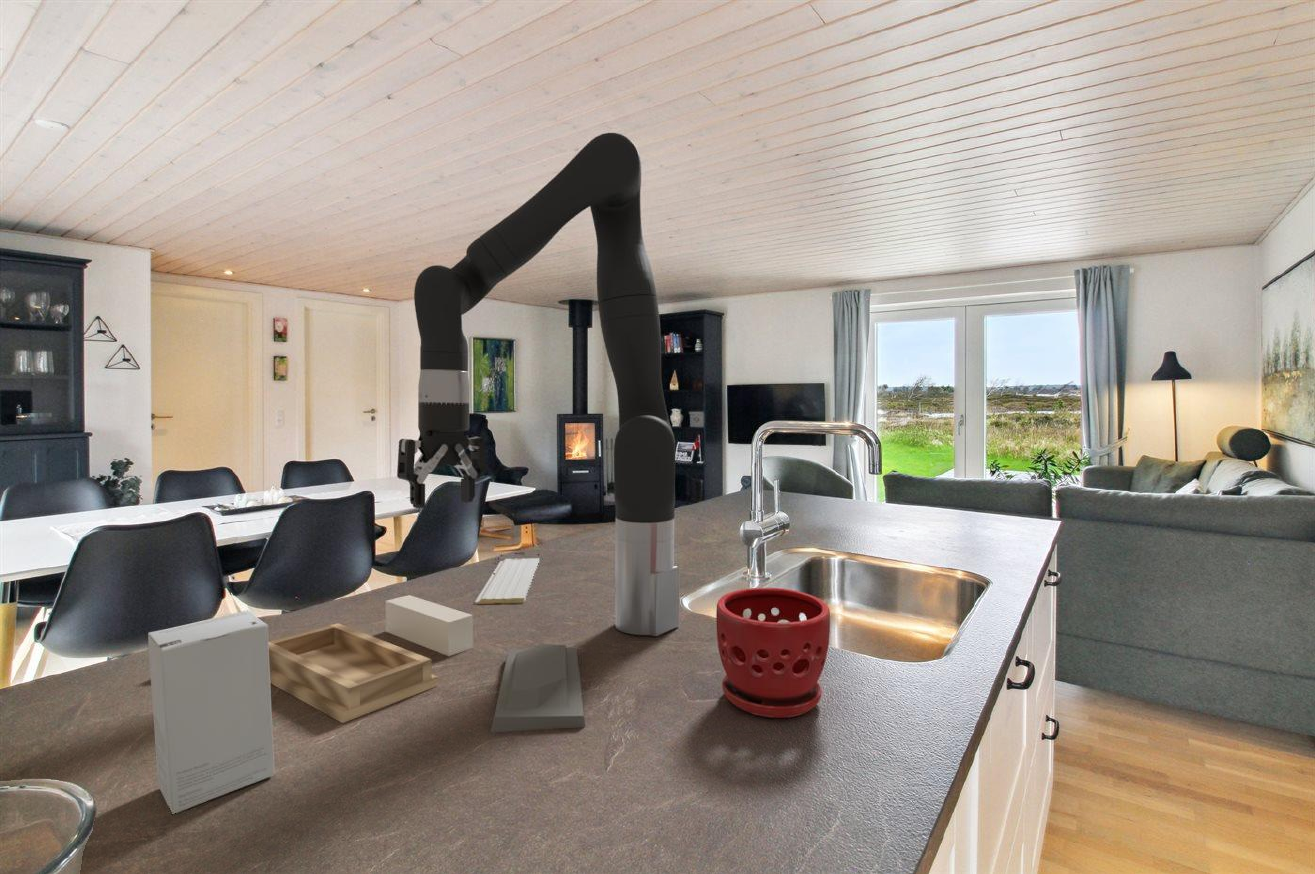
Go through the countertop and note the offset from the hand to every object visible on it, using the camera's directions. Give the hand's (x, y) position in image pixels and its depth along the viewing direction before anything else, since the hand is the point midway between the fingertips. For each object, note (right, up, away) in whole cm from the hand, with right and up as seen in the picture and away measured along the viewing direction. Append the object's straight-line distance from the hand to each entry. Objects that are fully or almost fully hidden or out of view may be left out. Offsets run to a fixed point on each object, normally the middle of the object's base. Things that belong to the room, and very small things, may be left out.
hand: (443, 504), depth 102 cm
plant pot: (+47, -21, -25) cm, 57 cm away
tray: (-6, -20, -19) cm, 28 cm away
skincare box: (-7, -21, -42) cm, 48 cm away
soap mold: (+19, -21, -22) cm, 36 cm away
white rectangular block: (-1, -20, -5) cm, 20 cm away
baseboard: (+3, -19, +28) cm, 34 cm away
